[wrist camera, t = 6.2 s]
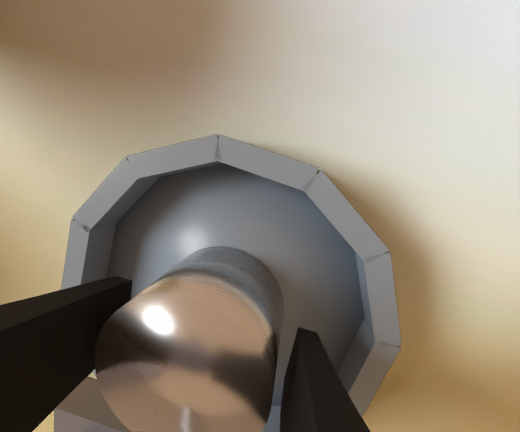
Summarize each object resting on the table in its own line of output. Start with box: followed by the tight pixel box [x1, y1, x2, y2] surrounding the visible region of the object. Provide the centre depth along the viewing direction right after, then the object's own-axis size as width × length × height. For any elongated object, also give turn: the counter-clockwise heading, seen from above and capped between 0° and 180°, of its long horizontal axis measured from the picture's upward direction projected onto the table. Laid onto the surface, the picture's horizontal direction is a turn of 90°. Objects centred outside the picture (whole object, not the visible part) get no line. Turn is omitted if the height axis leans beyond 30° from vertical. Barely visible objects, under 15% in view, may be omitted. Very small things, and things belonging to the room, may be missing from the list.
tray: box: [61, 134, 401, 432], centre depth 10 cm, size 12×12×2 cm
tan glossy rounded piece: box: [95, 246, 284, 432], centre depth 9 cm, size 5×5×4 cm
